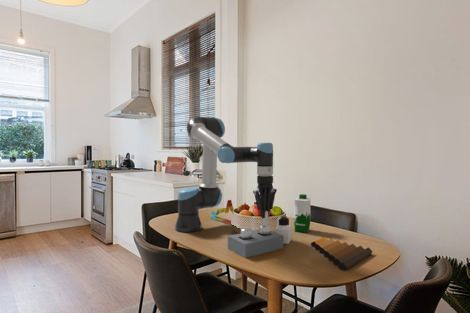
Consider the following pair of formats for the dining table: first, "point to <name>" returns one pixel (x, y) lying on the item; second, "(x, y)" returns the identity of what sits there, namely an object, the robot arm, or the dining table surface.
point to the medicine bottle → (284, 229)
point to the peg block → (255, 244)
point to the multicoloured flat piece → (226, 210)
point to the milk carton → (302, 213)
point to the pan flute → (341, 252)
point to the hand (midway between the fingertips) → (265, 224)
